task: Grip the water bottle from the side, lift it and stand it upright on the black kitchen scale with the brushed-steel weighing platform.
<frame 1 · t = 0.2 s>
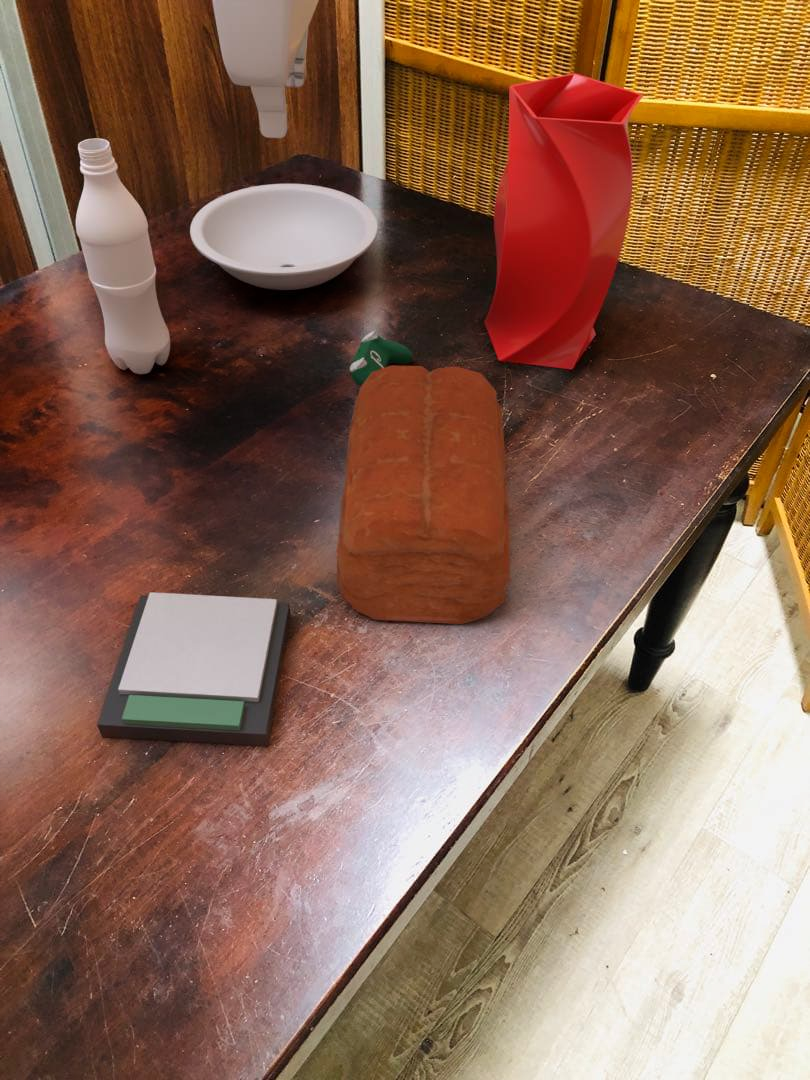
hand: (285, 107, 64), 36 cm above the table, tool pointing down, fingers open, 8 cm apart
kitchen scale: (202, 672, 73), on the table
gaming controller: (380, 380, 102), on the table
bread: (423, 518, 86), on the table
water bottle: (142, 362, 103), on the table
vase: (539, 335, 109), on the table
soup bowl: (288, 272, 118), on the table
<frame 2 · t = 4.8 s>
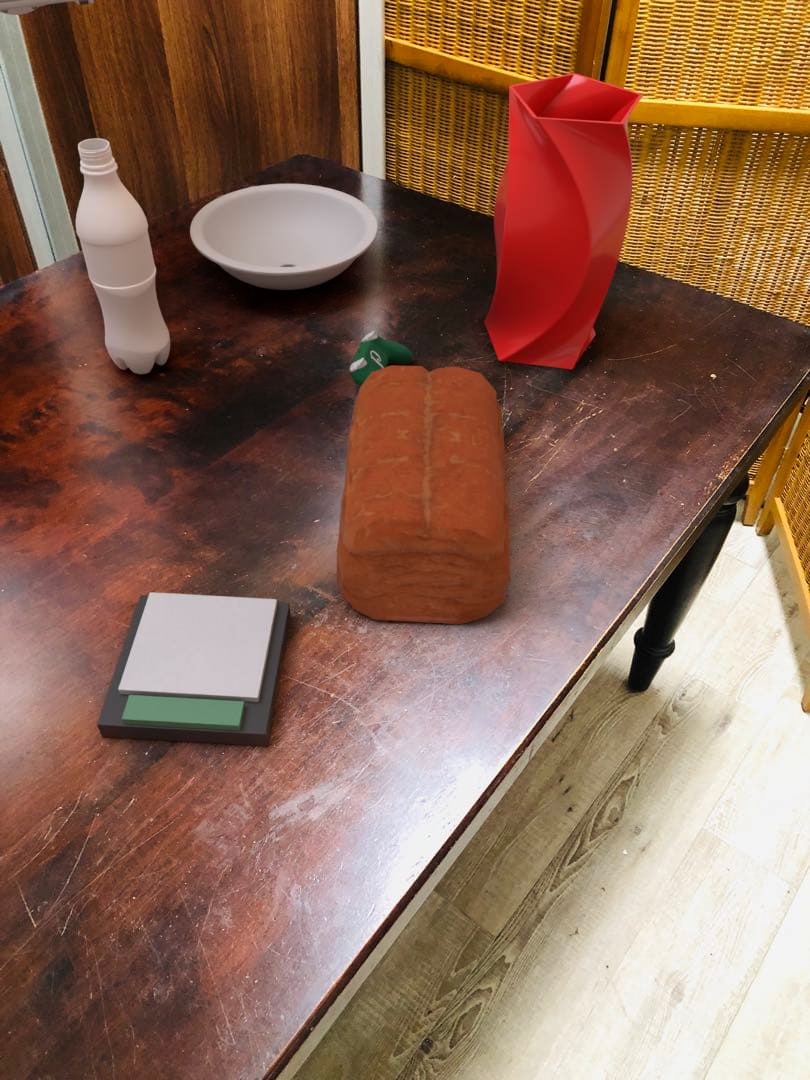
hand: (36, 1, 85), 34 cm above the table, tool horizontal, fingers open, 8 cm apart
nothing on the table moved.
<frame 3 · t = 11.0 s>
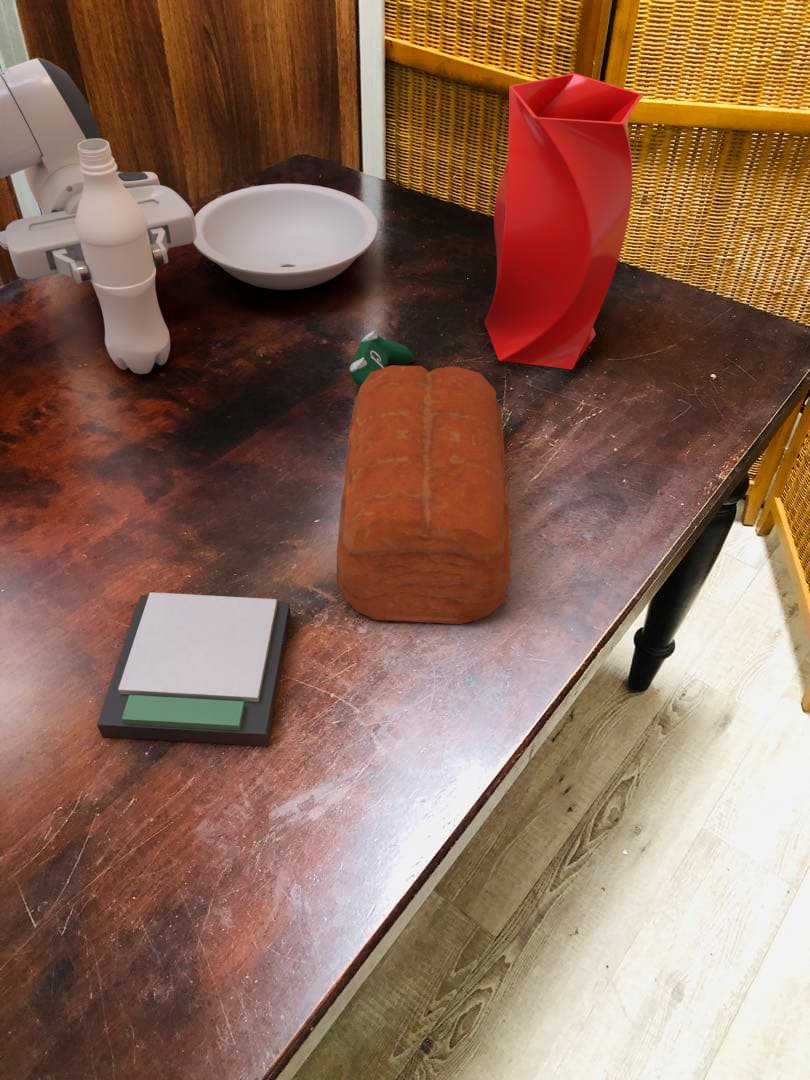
hand: (123, 267, 93), 13 cm above the table, tool horizontal, fingers closed on water bottle, 7 cm apart
water bottle: (142, 362, 103), on the table, touching gripper
everything else where it was.
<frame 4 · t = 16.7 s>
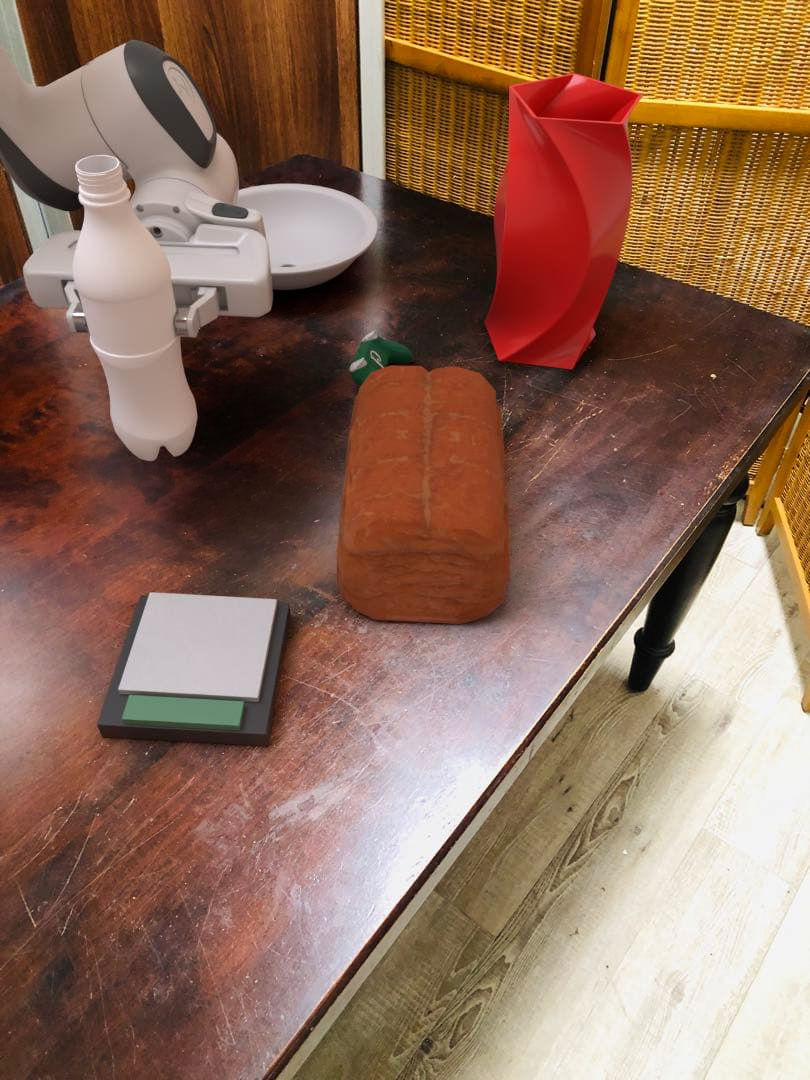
hand: (131, 327, 69), 22 cm above the table, tool horizontal, fingers closed on water bottle, 7 cm apart
water bottle: (161, 444, 79), point 9 cm above the table, touching gripper
everything else where it was.
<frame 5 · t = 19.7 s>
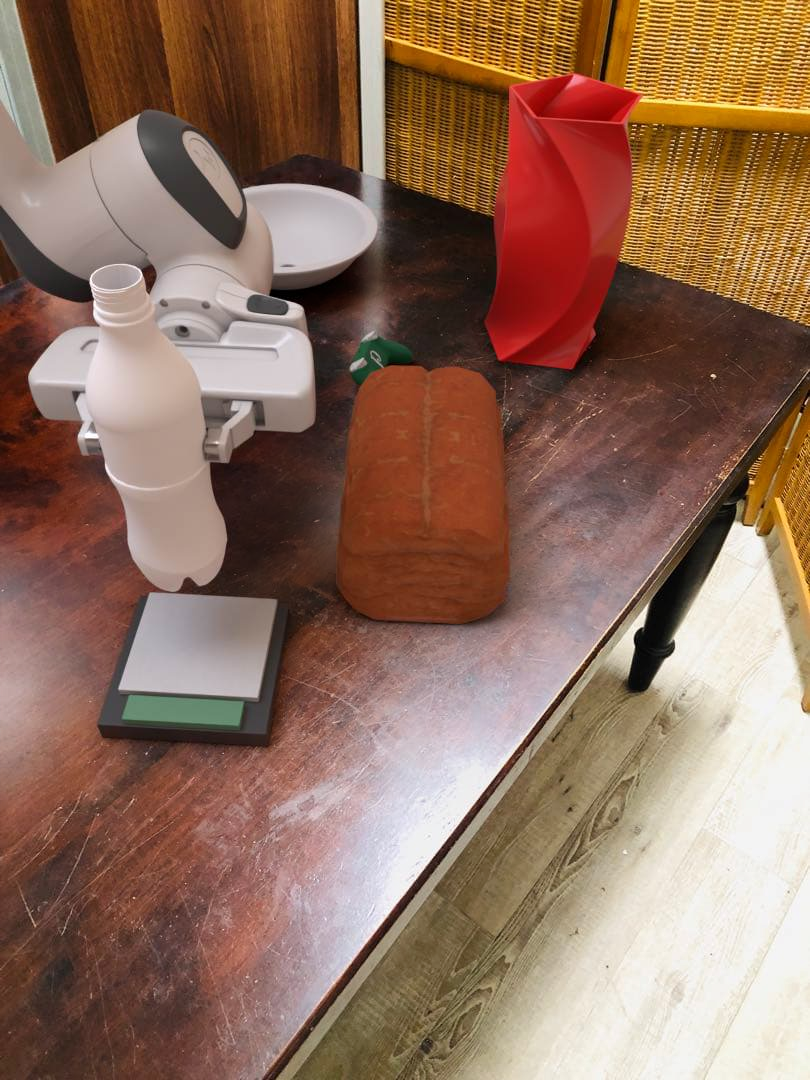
hand: (153, 452, 59), 22 cm above the table, tool horizontal, fingers closed on water bottle, 7 cm apart
water bottle: (185, 568, 69), point 9 cm above the table, touching gripper
everything else where it was.
when the fingers open (15 cm above the table, at t = 22.5 s): water bottle stays where it is, resting on kitchen scale.
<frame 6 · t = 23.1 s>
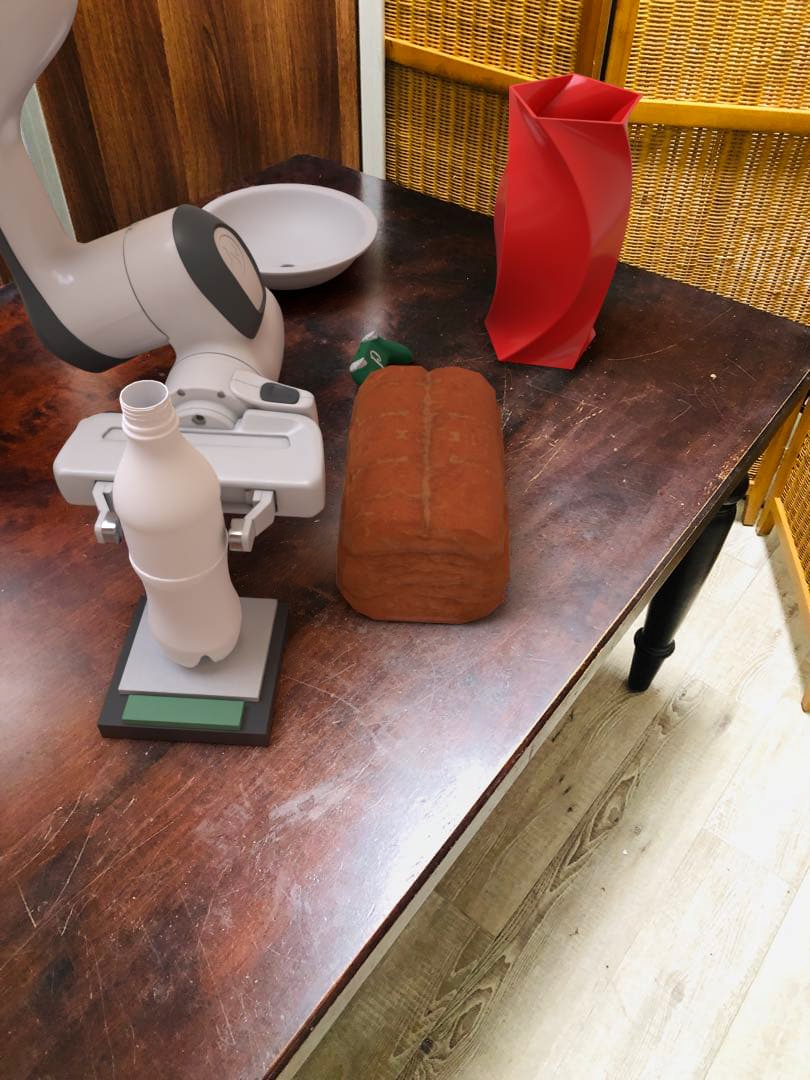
hand: (172, 541, 62), 15 cm above the table, tool horizontal, fingers open, 8 cm apart
water bottle: (201, 642, 72), point 2 cm above the table, touching kitchen scale
everything else where it was.
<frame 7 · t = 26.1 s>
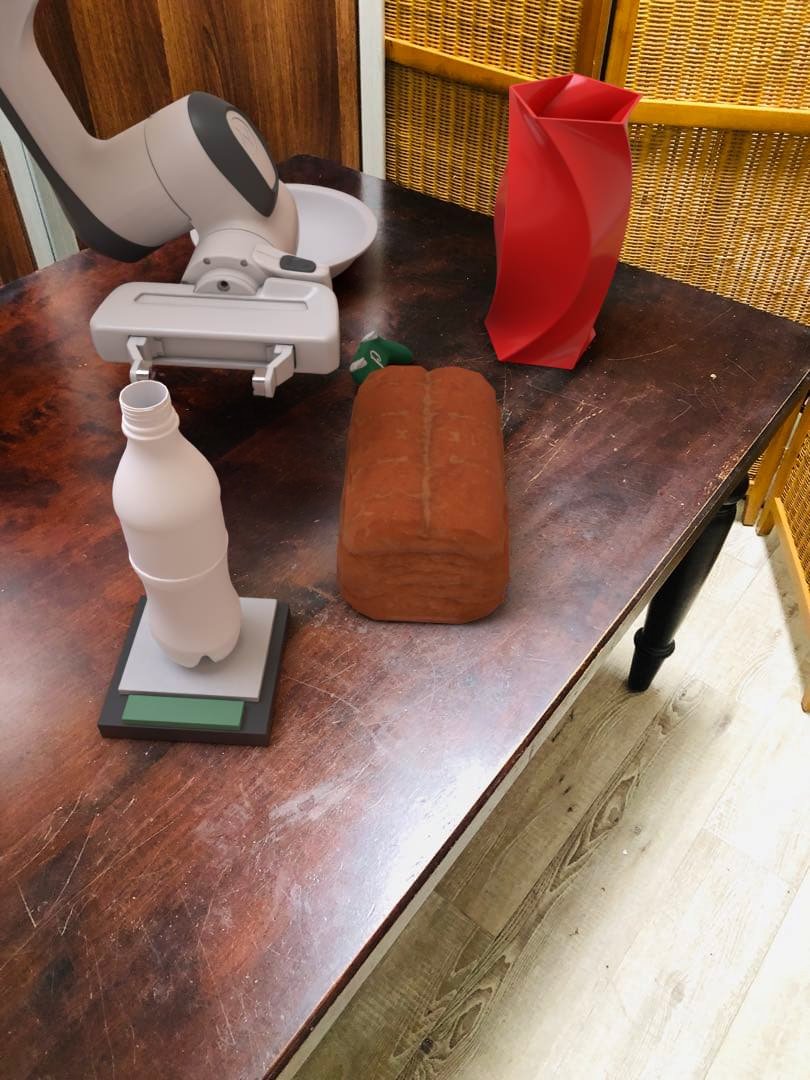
hand: (201, 386, 68), 20 cm above the table, tool horizontal, fingers open, 8 cm apart
nothing on the table moved.
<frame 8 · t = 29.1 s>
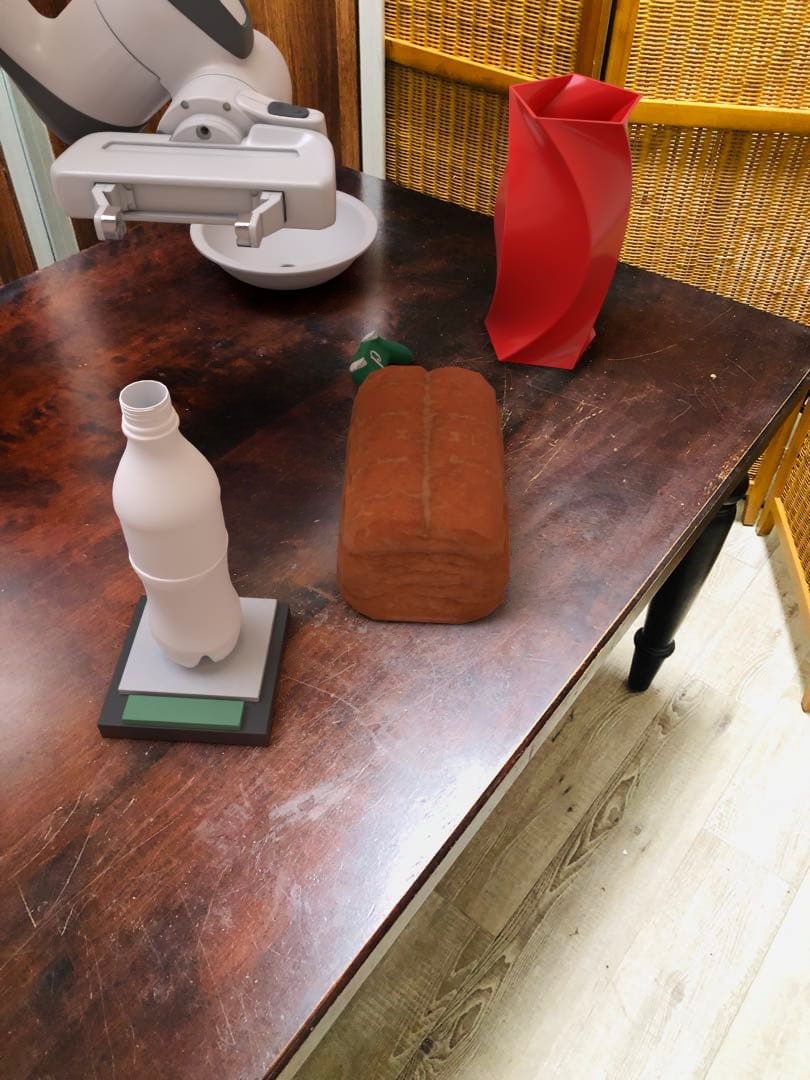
hand: (176, 234, 59), 32 cm above the table, tool horizontal, fingers open, 8 cm apart
nothing on the table moved.
at the end: water bottle inside the target area on the kitchen scale (0.1 cm from its centre), point 2.3 cm above the kitchen scale's base; water bottle tilted 0°; the gripper is holding nothing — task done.
